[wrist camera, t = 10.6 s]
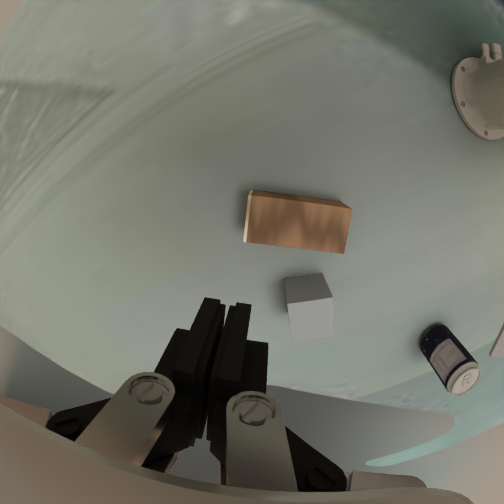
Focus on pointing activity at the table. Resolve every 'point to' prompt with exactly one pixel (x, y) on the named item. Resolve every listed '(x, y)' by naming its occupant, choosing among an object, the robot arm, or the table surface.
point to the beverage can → (450, 360)
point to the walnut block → (296, 221)
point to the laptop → (498, 345)
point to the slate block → (309, 307)
